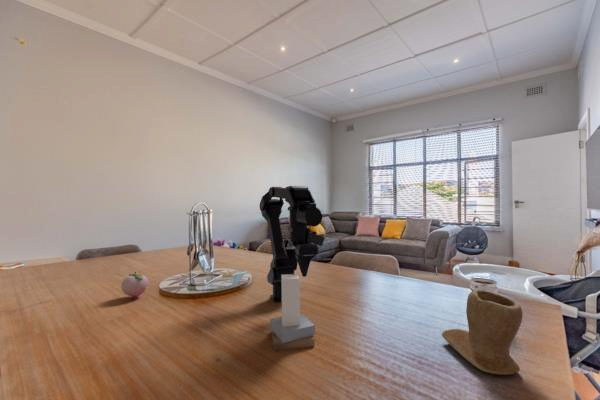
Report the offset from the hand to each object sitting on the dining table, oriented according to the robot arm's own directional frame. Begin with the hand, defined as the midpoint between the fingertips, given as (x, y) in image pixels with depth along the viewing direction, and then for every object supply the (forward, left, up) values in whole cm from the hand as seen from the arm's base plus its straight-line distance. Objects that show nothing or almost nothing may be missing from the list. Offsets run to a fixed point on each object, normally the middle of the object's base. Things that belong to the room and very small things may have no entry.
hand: (299, 273), depth 88 cm
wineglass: (+26, +48, -13) cm, 56 cm away
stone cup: (+39, +30, -13) cm, 51 cm away
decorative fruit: (-38, -54, -13) cm, 67 cm away
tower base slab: (+14, -8, -14) cm, 21 cm away
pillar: (+14, -8, -9) cm, 18 cm away
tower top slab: (+14, -7, -11) cm, 20 cm away
